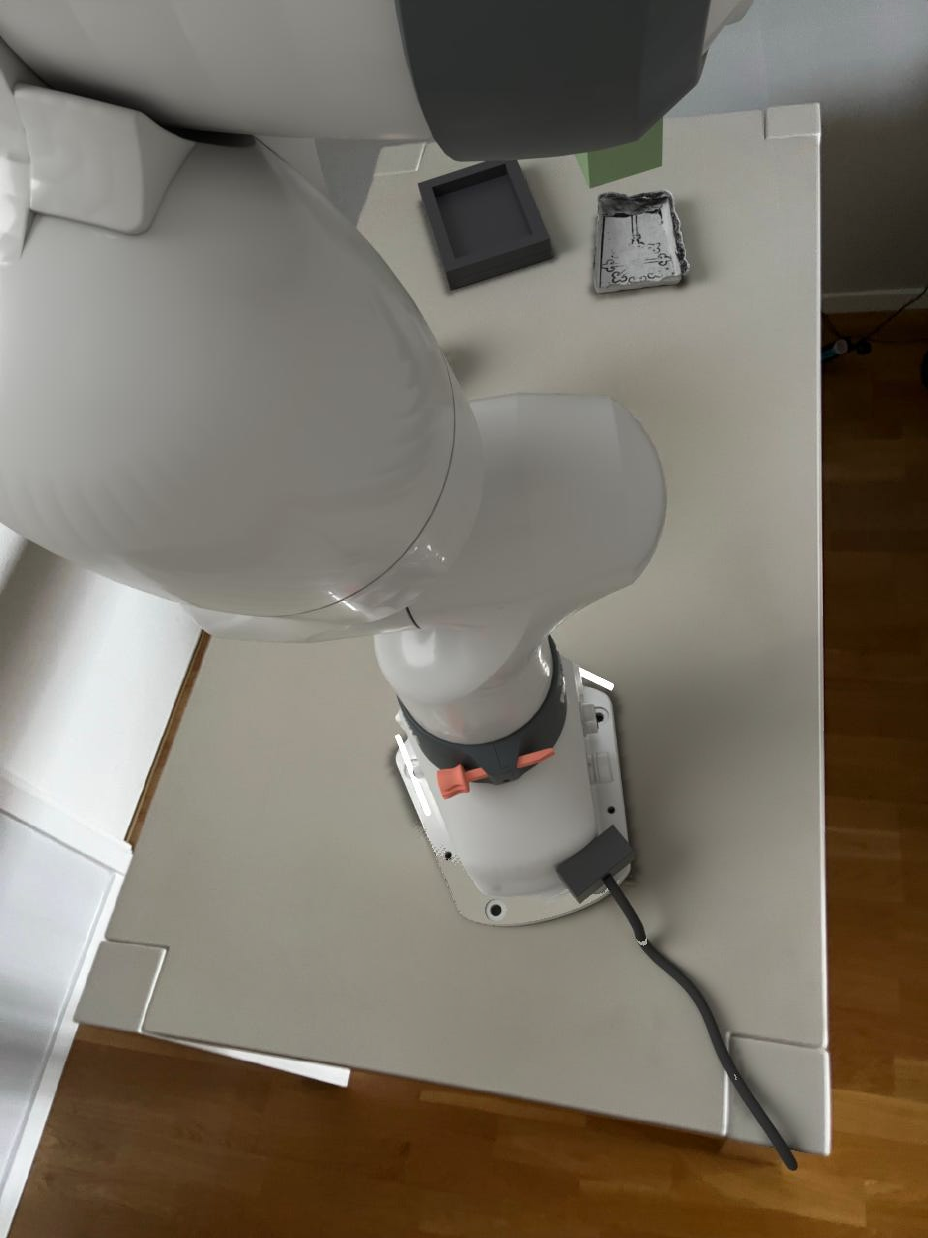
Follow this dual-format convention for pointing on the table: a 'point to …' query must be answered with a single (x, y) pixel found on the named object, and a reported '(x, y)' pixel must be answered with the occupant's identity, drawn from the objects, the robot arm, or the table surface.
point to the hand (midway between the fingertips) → (605, 114)
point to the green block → (623, 158)
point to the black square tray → (484, 221)
